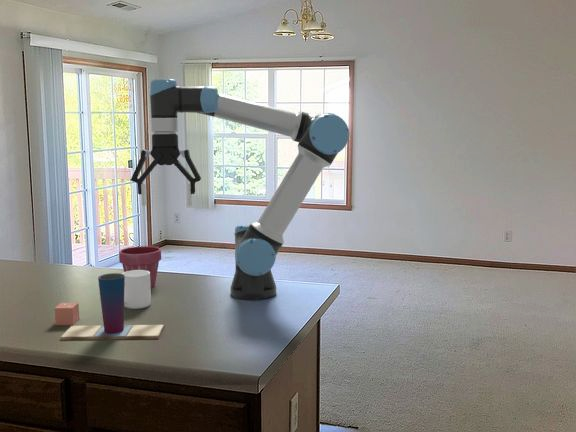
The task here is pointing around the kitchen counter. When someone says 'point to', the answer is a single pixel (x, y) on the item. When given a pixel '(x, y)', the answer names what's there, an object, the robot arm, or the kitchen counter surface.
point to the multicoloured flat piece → (127, 333)
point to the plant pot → (141, 260)
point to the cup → (112, 301)
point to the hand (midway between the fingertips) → (167, 205)
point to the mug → (137, 289)
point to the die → (67, 313)
